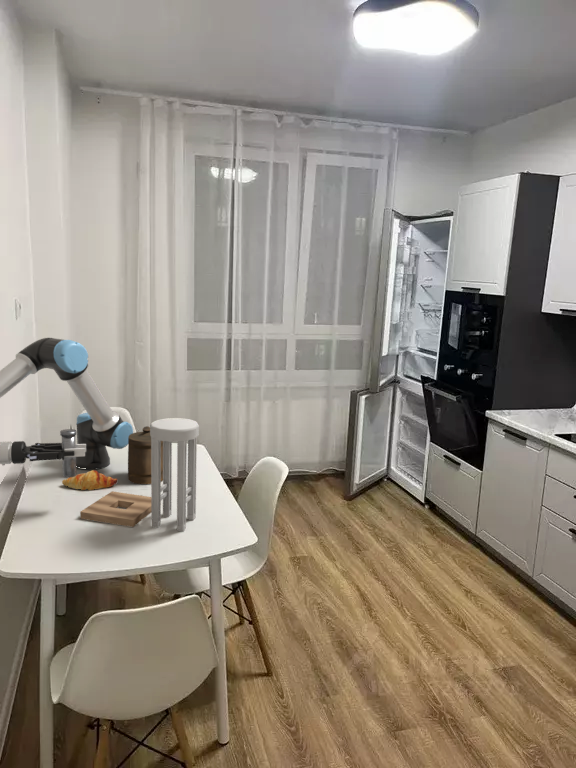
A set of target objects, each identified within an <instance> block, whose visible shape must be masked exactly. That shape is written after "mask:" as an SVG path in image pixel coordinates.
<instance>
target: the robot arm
mask: <svg viewBox="0 0 576 768" xmlns="http://www.w3.org/2000/svg"><path fill="white" fill-rule="evenodd" d="M88 353H89V352H88V351H87V349H86V347H85V346H84V345H83V344H82V343H79V342H78V341H74V340H72V339H71V340H70V339H63V338H61V339H60V338H55V337H44V338H40V339H38V340H35V341H34V342H32V343H31V344H29V345H27V346H25V347H24V348H23V349H22V350H20V351H19V352H17V353H16V354H15V358H14V359H13V360H12V361H11V362H9V363H8V364H7V365H5V366H4V367H3V368H2V369H0V399H2V397H4V396H5V395H6V394H7V393H8V392H10V391H11V390H12V389H14V388H15V387H16V386H17V385H19V384H20V383H21V382H22V381H23V380H24V379H26V378H27V377H28V376H29V375H35V374H36V373H38V372H39V371H40V370H43V369H51V370H54V372H55V374H56V375H57V376H58V378H59V380H60V381H63V382H66V383H67V385H68V386H69V387H70V389H71V390H72V391H73V393H74V395H75V396H76V398H77V399H78V401H79V402H80V404H81V405H82V407H83V409H84V410H85V412H83V413H80V414H78V415H77V416H76V424H75V425H76V440H77V441H76V448H75V449H65V451H64V450H62V442H49V443H48V442H47V443H45V442H44V443H43V442H36V443H35V444H32V445H27V444H26V442H25V441H23V440H22V441H21V440H20V441H18V440H17V441H13V442H12V441H0V465H2V466H3V467H4V466H5V465H11V464H14V465H16V464H17V465H20V464H21V465H22V464H25V462H26V460H27V459H29V462H36V461H52V460H53V461H55V460H56V461H57V460H59V461H60V460H61V461H62V460H64V456H65V457H76V466H77V467H80V468H86V469H93V470H97V469H96V468H100V469H103V468H102V467H104V468H106V467H108V466H109V465H110V464H111V456H110V455H109V452H108V449H107V447H108V448H112V449H116V450H117V449H118V450H122V449H124V448H126V447H128V437H129V435H130V434H133V433H134V427H133V425H132V424H131V423H130V422H128V421H124V420H123V419H122V417H121V415H120V414H119V412H118V411H115V410H113V409H112V408H111V406H110V404H109V403H108V402H107V400H106V398H105V396H104V395H103V394H102V392H101V391H100V389H99V387H98V386H97V384H96V382H95V380H94V379H93V377H92V376H91V374H90V372H89V371H88V369H89V363H88V362H89V359H88V358H89V354H88Z"/></svg>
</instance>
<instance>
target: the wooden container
mask: <svg viewBox="0 0 576 768" xmlns="http://www.w3.org/2000/svg"><path fill="white" fill-rule="evenodd" d="M127 447H128V450H127V480H128V481H129V482H130V483H133V484H136V485H137V484H138V485H151V435H150V426H148V425H147V426H144V427H143V428H142V431H138V432H133V434H130V435H129V437H128V445H127ZM161 482H163V441H161Z"/></svg>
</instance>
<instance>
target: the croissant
mask: <svg viewBox="0 0 576 768" xmlns="http://www.w3.org/2000/svg"><path fill="white" fill-rule="evenodd" d="M61 482H62V483H61V484H62V485H63V486H65V487H67V486H68V487H67V488H69V489H74V488H75V490H78V489H81V490H80V491H95V490H99V489H106V488H110V487H112V486H114V485H116V484H118V478H113V477H111V476H107V475H105V474H103V473H100V472H98V470H95V469H93V470H88V471H87V472H84V473H79V474H76V476H75V477H70V478H66V479H62V481H61ZM86 489H88V490H86ZM94 489H95V490H94Z"/></svg>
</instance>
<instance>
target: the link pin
mask: <svg viewBox="0 0 576 768" xmlns="http://www.w3.org/2000/svg"><path fill="white" fill-rule="evenodd" d="M59 434H60V435H59V436H61V443H62V450H64V451H65V449H75V448H76V444H77V442H76V436H77V429H73V428H68V429H67V428H65V429H62V430H60V431H59ZM61 461H62V476H63V478H66V479H67V478H70V477H75V476H76V475H77V468H76V457H65V456H64V460H62V459H61Z"/></svg>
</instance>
